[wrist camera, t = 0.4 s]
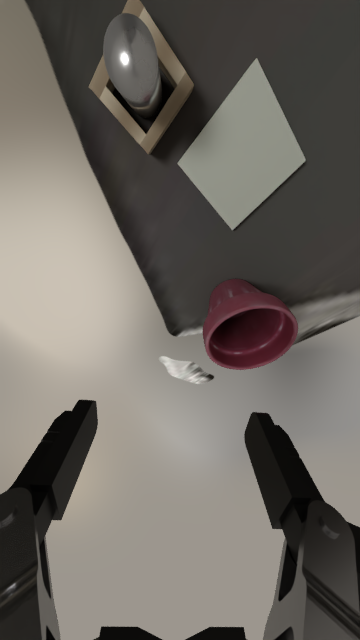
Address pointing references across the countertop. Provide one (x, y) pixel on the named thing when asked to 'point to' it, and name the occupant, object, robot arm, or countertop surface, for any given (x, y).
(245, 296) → the plant pot
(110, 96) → the wood collar
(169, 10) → the countertop surface
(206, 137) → the sage mat
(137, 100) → the metal peg
